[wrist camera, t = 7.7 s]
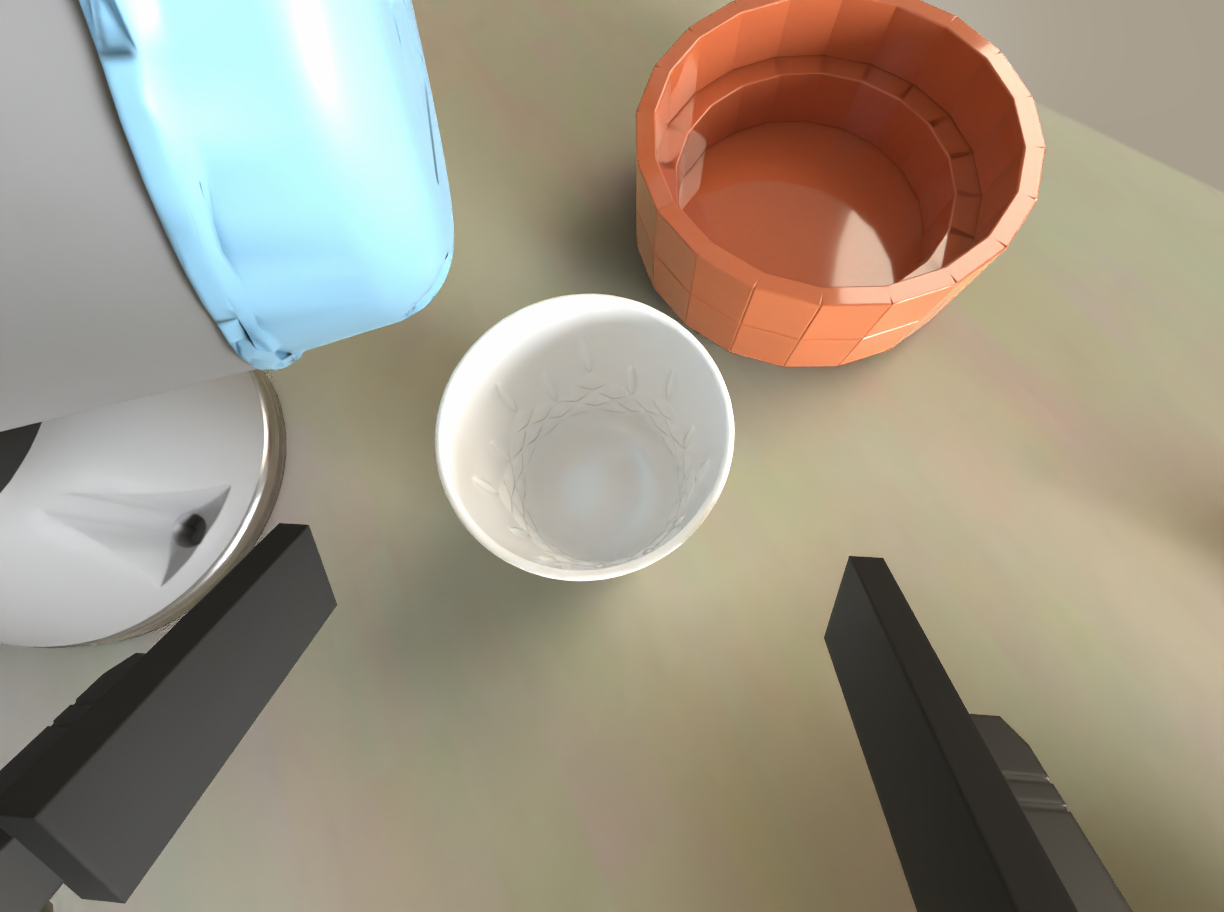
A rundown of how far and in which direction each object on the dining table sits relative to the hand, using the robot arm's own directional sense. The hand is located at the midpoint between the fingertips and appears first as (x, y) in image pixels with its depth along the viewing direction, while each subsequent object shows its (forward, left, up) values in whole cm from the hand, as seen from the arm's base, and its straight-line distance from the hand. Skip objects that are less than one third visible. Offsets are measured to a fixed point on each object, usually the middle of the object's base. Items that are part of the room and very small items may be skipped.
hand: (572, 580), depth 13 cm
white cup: (+1, +4, -10) cm, 11 cm away
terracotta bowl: (+14, +14, -10) cm, 22 cm away
